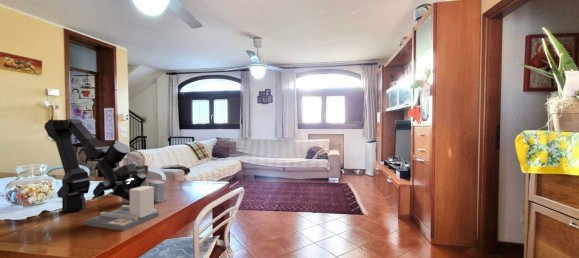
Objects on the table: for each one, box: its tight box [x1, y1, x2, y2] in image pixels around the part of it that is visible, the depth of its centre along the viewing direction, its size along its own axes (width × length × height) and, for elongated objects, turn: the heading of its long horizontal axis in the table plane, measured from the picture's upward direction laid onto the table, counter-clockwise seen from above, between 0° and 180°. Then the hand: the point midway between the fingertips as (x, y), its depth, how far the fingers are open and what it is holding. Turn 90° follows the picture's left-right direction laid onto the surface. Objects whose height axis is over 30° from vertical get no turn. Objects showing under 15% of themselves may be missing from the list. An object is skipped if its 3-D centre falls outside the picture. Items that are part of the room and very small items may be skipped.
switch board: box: [84, 204, 160, 232], centre depth 95 cm, size 18×15×3 cm
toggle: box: [129, 185, 155, 218], centre depth 95 cm, size 6×6×10 cm
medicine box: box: [148, 180, 167, 203], centre depth 120 cm, size 8×4×9 cm, turn 58°
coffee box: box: [121, 164, 149, 204], centre depth 120 cm, size 9×6×16 cm
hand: (134, 201), depth 96 cm, fingers closed
